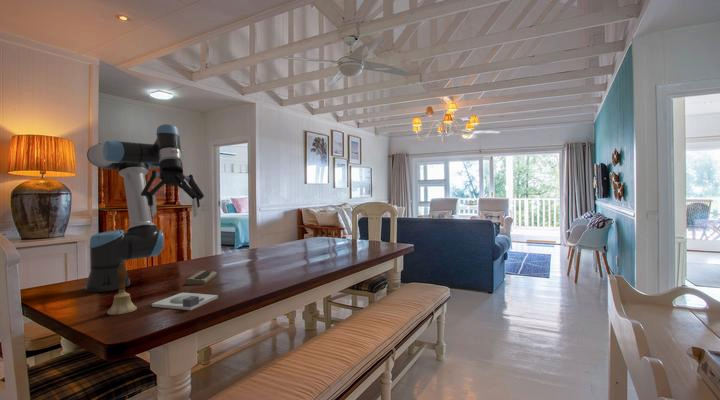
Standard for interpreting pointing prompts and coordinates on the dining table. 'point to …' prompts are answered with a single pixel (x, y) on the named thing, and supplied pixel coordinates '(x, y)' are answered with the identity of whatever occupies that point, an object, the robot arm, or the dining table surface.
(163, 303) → the charging dock
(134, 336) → the dining table surface
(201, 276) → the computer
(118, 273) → the hand bell
